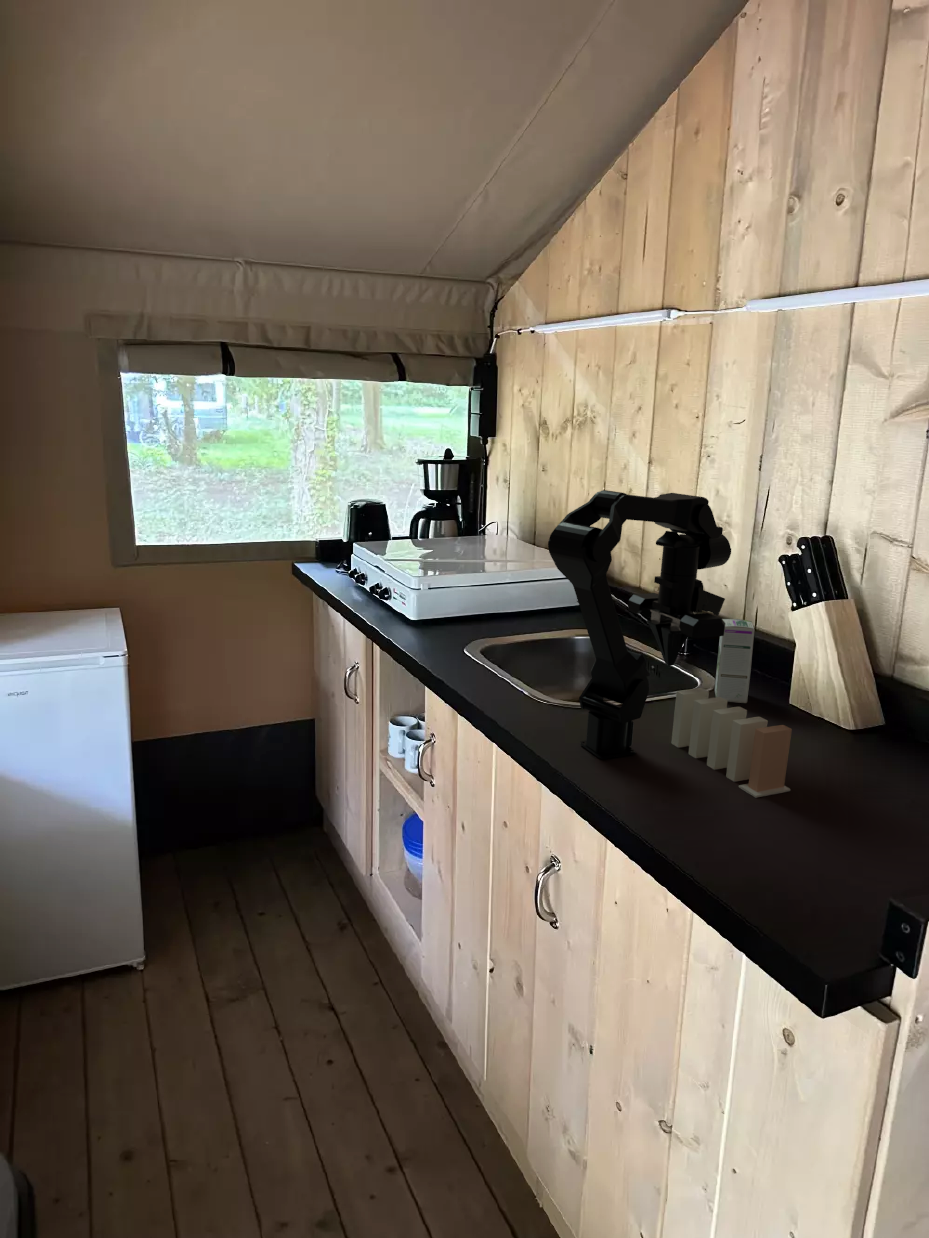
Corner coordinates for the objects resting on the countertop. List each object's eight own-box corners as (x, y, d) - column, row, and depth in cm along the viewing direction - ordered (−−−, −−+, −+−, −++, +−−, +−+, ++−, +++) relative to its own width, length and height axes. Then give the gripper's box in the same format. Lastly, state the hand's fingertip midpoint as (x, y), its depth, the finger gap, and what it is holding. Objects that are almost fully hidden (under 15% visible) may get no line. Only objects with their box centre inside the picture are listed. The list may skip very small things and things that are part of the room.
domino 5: (783, 786, 132) (791, 729, 130) (756, 791, 130) (764, 733, 128) (775, 781, 134) (783, 724, 131) (748, 786, 132) (755, 728, 129)
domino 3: (740, 765, 140) (747, 710, 138) (714, 769, 138) (720, 714, 136) (732, 760, 141) (739, 706, 139) (706, 765, 139) (712, 710, 137)
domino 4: (760, 776, 136) (767, 720, 134) (734, 781, 134) (741, 724, 132) (752, 772, 137) (759, 716, 135) (726, 776, 135) (732, 720, 133)
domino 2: (721, 754, 144) (727, 700, 141) (695, 758, 142) (701, 704, 139) (714, 749, 145) (720, 696, 143) (688, 754, 143) (694, 700, 141)
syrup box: (747, 703, 167) (757, 628, 163) (714, 700, 168) (723, 625, 165) (744, 693, 173) (753, 620, 169) (712, 690, 174) (721, 617, 170)
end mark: (755, 797, 129) (755, 795, 129) (738, 787, 132) (738, 785, 132) (790, 790, 131) (790, 789, 131) (772, 780, 135) (772, 779, 134)
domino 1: (703, 743, 148) (709, 691, 145) (678, 747, 146) (683, 694, 143) (696, 739, 149) (701, 687, 147) (671, 743, 147) (676, 691, 145)
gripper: (757, 582, 141) (746, 677, 145) (683, 559, 158) (674, 645, 162) (700, 586, 137) (689, 684, 141) (630, 562, 153) (622, 650, 157)
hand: (669, 664), depth 150 cm, fingers closed
